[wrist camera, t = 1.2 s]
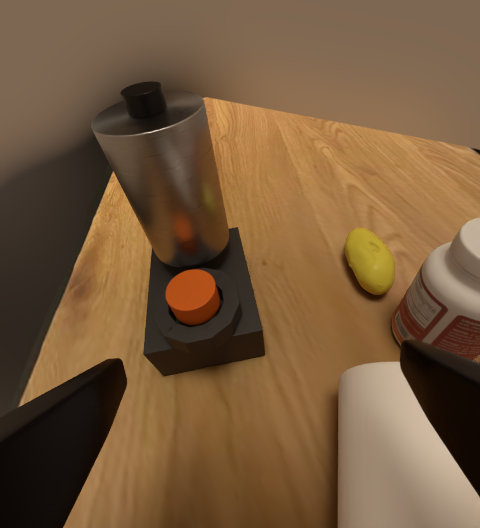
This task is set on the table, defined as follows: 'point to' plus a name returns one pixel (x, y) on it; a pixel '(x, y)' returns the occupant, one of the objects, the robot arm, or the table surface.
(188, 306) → the switch
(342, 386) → the mug
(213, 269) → the push button box
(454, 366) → the robot arm
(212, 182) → the silver metal canister
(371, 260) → the lemon
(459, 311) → the pill bottle
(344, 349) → the table surface
